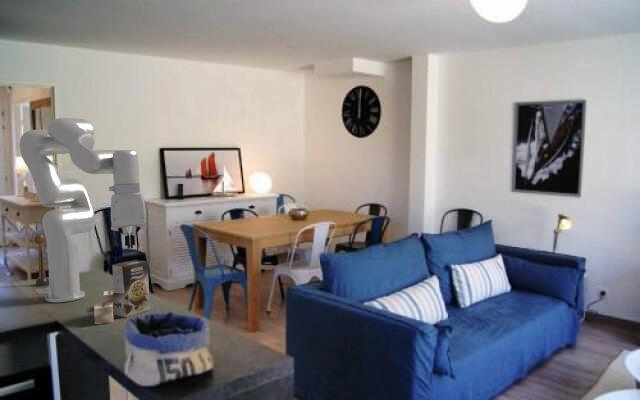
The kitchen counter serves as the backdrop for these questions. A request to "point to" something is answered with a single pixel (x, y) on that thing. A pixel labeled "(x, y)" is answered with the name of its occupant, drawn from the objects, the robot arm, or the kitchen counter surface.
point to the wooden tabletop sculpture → (40, 261)
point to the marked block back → (108, 297)
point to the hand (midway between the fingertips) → (130, 247)
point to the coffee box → (130, 288)
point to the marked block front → (103, 313)
